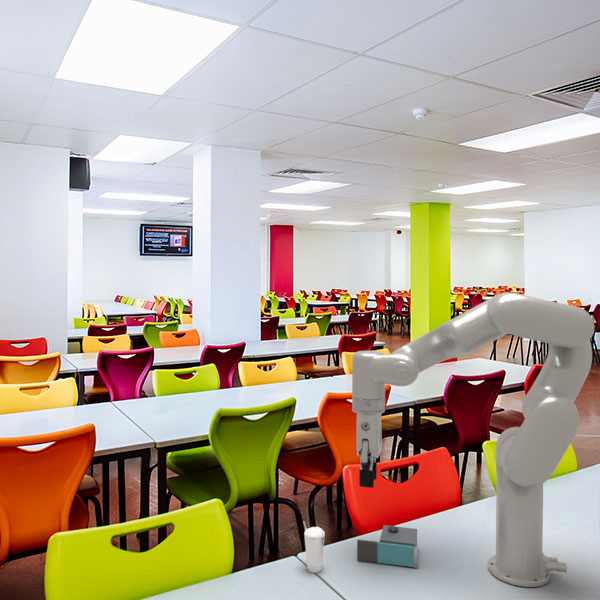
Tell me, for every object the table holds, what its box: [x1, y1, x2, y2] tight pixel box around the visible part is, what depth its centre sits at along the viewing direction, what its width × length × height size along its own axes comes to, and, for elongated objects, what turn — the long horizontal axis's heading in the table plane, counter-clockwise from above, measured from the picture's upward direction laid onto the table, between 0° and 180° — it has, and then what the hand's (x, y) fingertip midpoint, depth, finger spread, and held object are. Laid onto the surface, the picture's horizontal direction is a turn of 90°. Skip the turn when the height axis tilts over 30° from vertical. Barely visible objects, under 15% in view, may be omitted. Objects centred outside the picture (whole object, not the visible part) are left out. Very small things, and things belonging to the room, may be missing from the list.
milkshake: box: [302, 520, 326, 574], centre depth 122 cm, size 5×5×10 cm
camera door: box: [356, 538, 419, 569], centre depth 124 cm, size 14×1×4 cm, turn 75°
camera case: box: [379, 524, 418, 547], centre depth 128 cm, size 8×8×6 cm
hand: (368, 481), depth 127 cm, fingers open, 4 cm apart
